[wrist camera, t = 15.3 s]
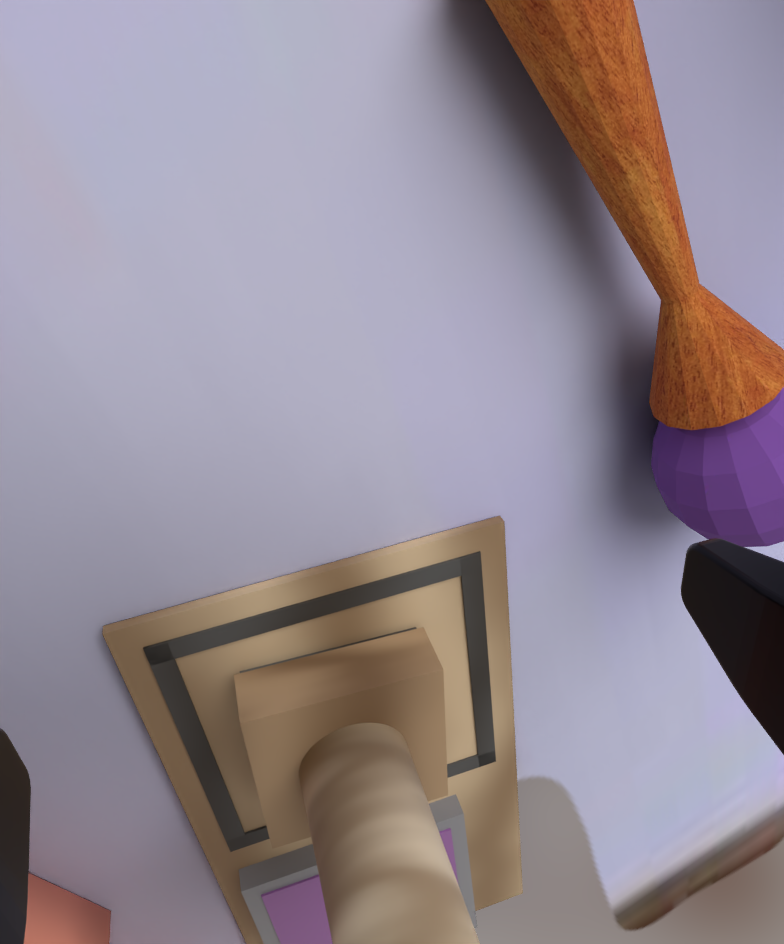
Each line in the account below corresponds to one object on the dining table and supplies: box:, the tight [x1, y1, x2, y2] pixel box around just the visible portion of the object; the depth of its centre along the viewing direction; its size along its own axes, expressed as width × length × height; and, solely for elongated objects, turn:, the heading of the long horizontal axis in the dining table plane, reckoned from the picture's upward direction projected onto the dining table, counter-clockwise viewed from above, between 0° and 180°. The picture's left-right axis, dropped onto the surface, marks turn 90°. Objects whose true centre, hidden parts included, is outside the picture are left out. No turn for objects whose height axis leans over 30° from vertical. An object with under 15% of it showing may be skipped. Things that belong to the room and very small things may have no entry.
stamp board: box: [102, 516, 523, 944], centre depth 31 cm, size 14×25×1 cm, turn 7°
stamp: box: [234, 627, 480, 944], centre depth 22 cm, size 7×7×15 cm
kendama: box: [485, 0, 784, 547], centre depth 21 cm, size 6×6×20 cm
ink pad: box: [239, 794, 477, 944], centre depth 34 cm, size 10×10×1 cm
